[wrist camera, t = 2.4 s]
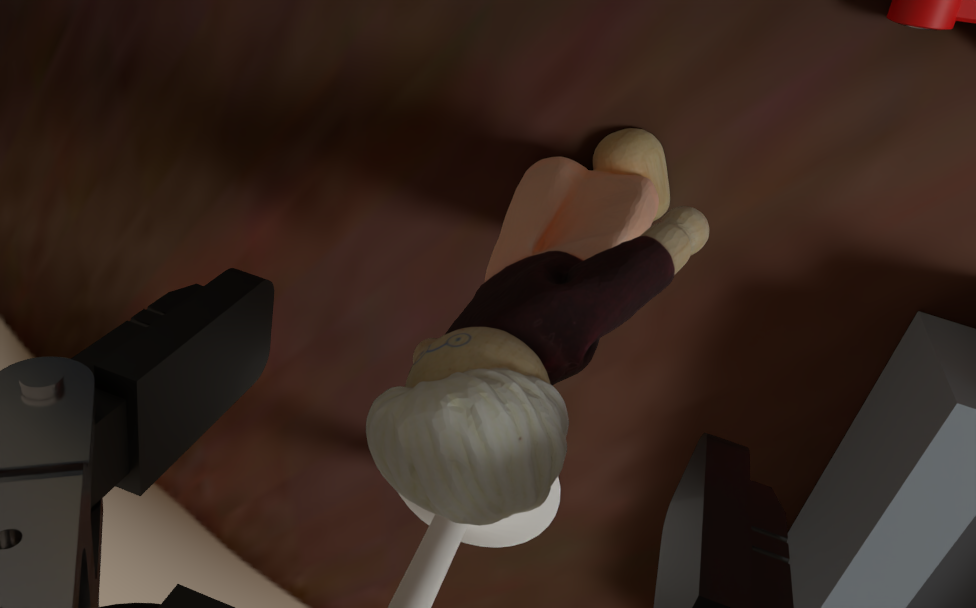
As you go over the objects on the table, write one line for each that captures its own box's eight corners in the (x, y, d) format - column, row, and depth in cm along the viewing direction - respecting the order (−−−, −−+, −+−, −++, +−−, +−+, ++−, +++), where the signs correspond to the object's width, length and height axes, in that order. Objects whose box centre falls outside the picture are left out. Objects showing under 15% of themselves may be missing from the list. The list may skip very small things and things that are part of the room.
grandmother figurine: (638, 61, 20) (511, 245, 9) (735, 167, 20) (724, 461, 10) (452, 238, 24) (211, 514, 13) (538, 324, 24) (373, 658, 14)
